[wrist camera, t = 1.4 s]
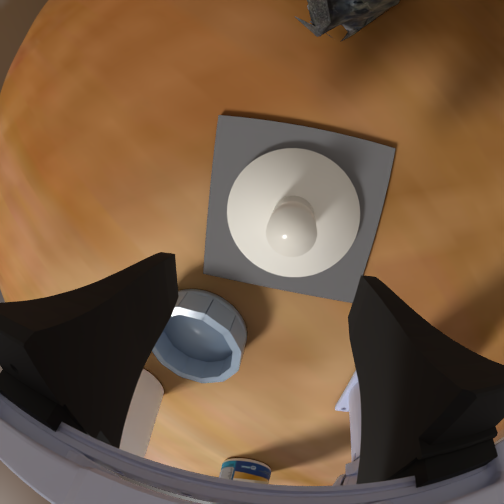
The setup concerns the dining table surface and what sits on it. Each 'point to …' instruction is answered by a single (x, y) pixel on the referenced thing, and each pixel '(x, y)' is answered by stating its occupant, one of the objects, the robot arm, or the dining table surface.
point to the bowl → (202, 338)
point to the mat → (295, 136)
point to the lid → (293, 212)
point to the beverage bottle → (245, 471)
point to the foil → (344, 14)
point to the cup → (142, 415)
